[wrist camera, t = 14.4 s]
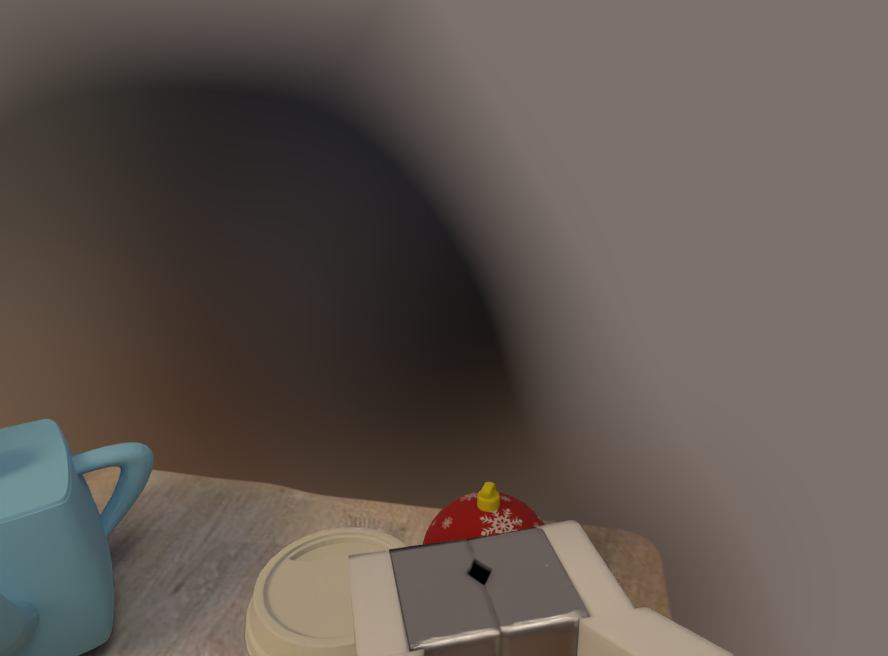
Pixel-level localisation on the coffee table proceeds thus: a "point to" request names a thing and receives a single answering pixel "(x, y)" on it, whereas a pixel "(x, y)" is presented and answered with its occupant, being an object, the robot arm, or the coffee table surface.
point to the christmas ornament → (481, 516)
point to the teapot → (59, 540)
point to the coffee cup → (309, 595)
